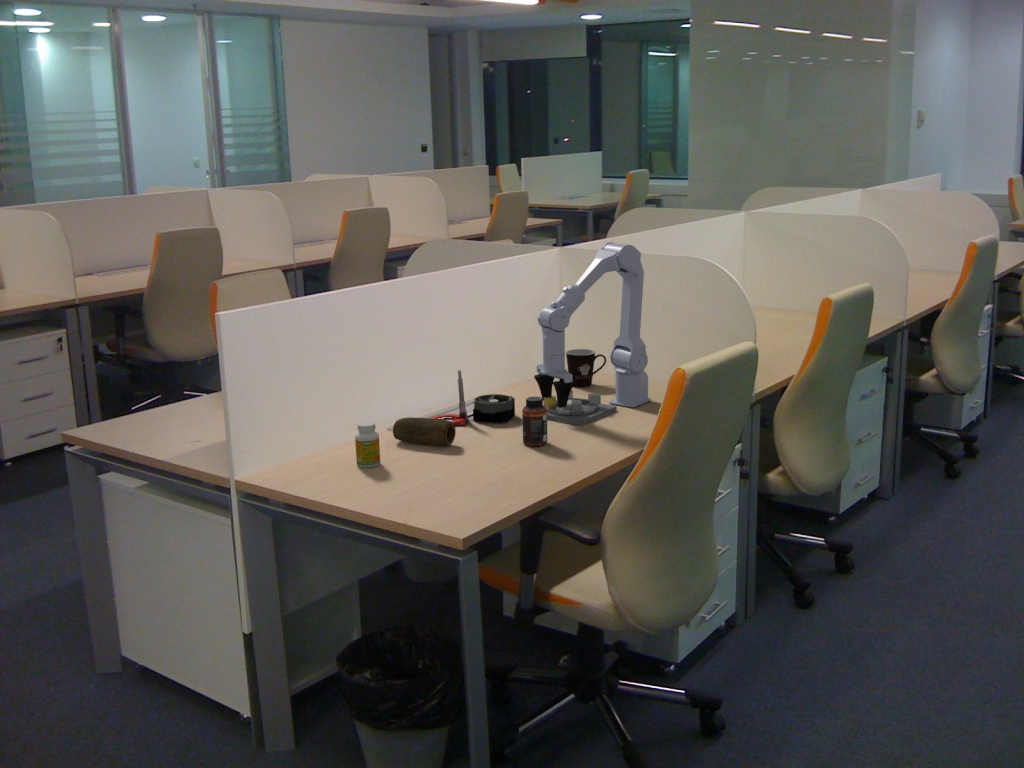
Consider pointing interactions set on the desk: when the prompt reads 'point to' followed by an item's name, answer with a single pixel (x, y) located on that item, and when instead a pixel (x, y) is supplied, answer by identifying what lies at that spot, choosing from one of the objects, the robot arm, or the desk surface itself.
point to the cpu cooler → (493, 408)
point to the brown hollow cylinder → (424, 431)
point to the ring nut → (574, 404)
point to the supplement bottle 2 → (534, 422)
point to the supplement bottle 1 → (367, 445)
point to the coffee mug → (582, 366)
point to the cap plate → (581, 419)
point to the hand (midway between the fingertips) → (554, 403)
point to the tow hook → (463, 413)
